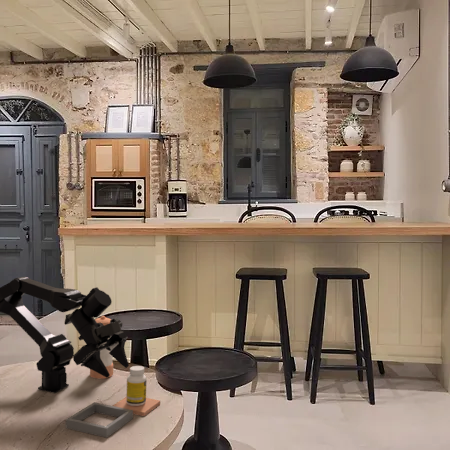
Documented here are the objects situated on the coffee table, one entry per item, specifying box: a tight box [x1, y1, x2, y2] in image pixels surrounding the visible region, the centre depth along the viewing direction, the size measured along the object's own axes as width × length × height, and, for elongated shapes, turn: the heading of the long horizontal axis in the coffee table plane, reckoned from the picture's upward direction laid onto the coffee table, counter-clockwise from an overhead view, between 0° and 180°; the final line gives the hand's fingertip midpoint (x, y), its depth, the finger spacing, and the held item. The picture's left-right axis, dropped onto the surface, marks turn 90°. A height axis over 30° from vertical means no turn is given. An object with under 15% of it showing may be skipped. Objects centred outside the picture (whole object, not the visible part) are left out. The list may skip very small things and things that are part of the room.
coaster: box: [112, 396, 161, 417], centre depth 145 cm, size 10×9×1 cm
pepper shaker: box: [89, 315, 114, 380], centre depth 168 cm, size 7×7×19 cm
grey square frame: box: [65, 401, 134, 438], centre depth 134 cm, size 12×12×2 cm
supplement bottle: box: [125, 365, 148, 406], centre depth 145 cm, size 5×5×10 cm
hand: (118, 371), depth 147 cm, fingers open, 9 cm apart
